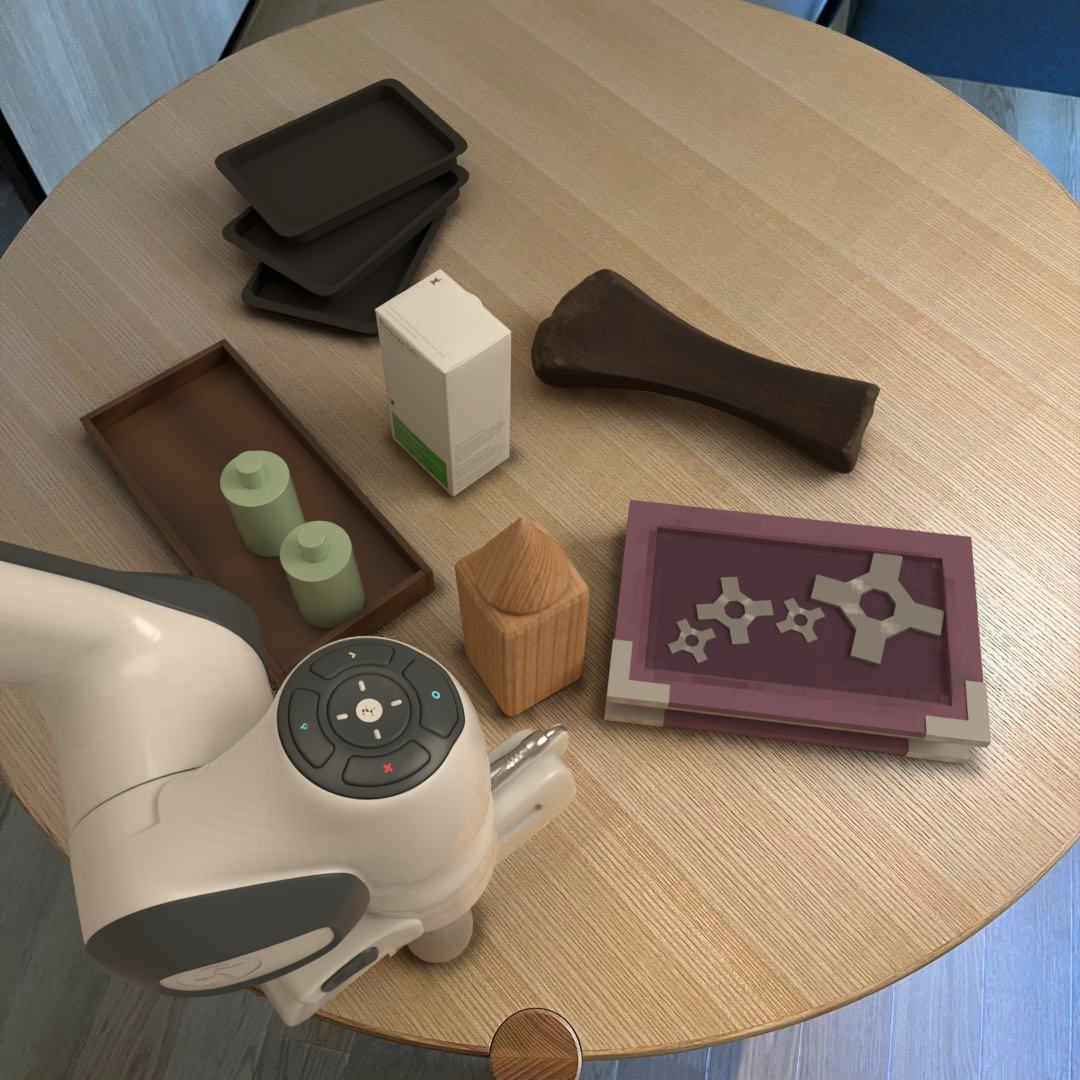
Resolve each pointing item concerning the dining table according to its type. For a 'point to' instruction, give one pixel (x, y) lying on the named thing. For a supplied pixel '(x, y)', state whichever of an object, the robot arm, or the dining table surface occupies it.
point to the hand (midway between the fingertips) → (431, 907)
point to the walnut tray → (203, 514)
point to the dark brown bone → (696, 369)
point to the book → (799, 632)
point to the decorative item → (523, 615)
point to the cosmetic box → (447, 380)
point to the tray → (343, 205)
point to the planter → (444, 940)
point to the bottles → (293, 538)
